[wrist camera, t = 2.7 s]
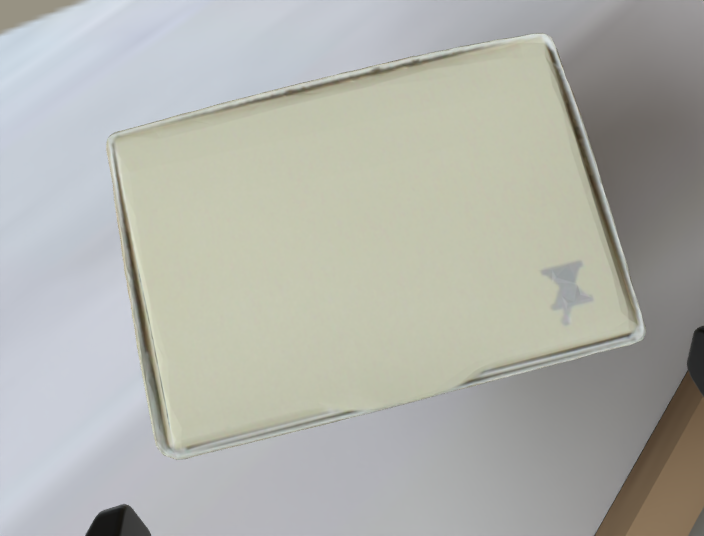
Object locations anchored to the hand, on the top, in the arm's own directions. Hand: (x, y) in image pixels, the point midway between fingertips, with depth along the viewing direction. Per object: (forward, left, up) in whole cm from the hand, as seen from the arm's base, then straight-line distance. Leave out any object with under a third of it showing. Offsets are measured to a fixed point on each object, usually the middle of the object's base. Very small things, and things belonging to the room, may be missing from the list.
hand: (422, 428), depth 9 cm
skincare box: (+2, -2, -10) cm, 11 cm away
